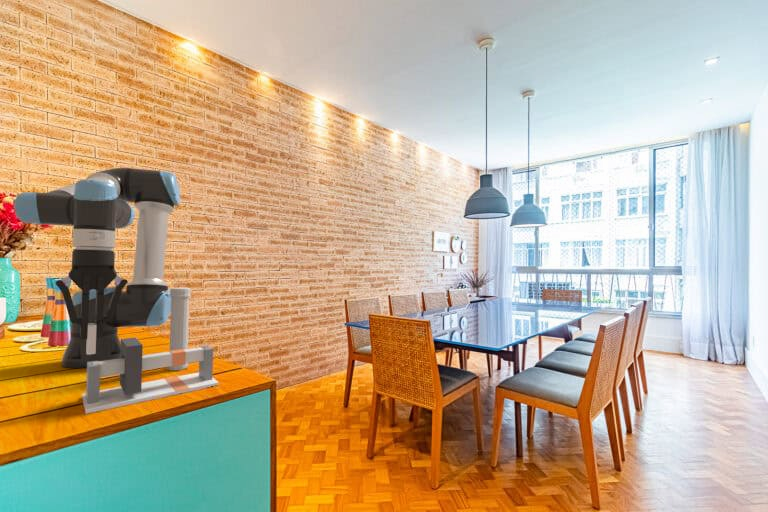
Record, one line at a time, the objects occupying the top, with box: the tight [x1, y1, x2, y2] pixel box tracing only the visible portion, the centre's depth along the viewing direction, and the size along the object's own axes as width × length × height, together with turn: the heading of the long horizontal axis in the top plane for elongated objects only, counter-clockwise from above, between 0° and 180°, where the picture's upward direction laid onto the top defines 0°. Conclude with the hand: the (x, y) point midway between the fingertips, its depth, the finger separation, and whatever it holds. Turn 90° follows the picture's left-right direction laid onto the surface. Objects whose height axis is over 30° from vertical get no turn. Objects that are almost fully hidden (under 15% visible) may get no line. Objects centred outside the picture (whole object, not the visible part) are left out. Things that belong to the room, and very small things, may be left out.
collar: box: [119, 337, 144, 395], centre depth 86 cm, size 10×3×11 cm, turn 43°
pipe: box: [167, 268, 191, 372], centre depth 108 cm, size 6×6×30 cm
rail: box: [81, 345, 220, 415], centre depth 89 cm, size 12×27×9 cm, turn 133°
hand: (90, 353), depth 81 cm, fingers closed
